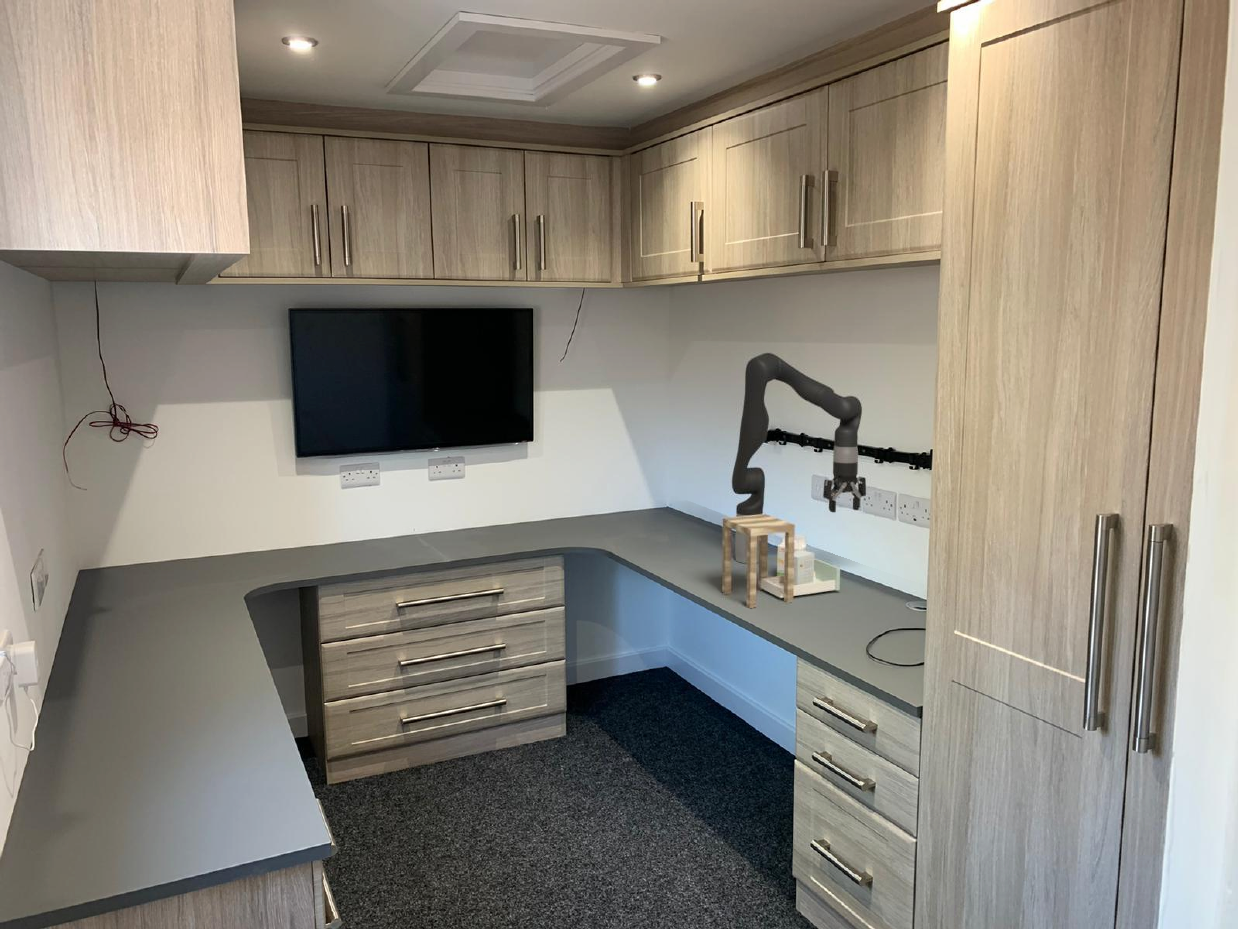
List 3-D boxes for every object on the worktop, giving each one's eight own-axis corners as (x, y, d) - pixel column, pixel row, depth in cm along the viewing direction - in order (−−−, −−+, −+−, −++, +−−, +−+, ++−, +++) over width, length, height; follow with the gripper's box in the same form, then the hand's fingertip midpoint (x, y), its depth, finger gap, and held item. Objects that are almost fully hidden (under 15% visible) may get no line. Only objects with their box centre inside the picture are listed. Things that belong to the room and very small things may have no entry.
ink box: (775, 580, 305) (776, 536, 302) (780, 576, 309) (781, 533, 307) (801, 583, 301) (802, 539, 298) (806, 579, 305) (807, 535, 303)
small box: (800, 581, 296) (800, 549, 294) (814, 585, 292) (814, 552, 290) (783, 586, 291) (783, 553, 289) (797, 590, 287) (797, 557, 285)
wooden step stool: (722, 593, 291) (722, 518, 287) (763, 587, 297) (764, 513, 293) (750, 608, 276) (750, 529, 272) (793, 602, 281) (794, 524, 278)
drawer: (759, 587, 294) (759, 565, 293) (815, 579, 302) (816, 558, 301) (781, 598, 282) (782, 576, 281) (839, 590, 290) (840, 568, 289)
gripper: (832, 463, 286) (831, 515, 288) (871, 460, 291) (870, 511, 293) (819, 460, 293) (818, 510, 295) (857, 457, 298) (856, 507, 300)
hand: (844, 510), depth 294 cm, fingers open, 8 cm apart
